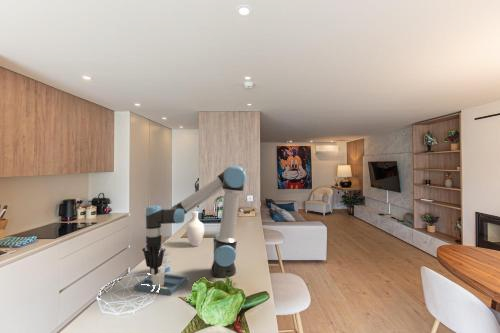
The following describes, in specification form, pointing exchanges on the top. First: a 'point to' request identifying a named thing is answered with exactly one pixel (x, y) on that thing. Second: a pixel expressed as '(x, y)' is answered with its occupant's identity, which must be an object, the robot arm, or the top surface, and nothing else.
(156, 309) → the top surface
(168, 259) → the ink box
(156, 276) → the tab
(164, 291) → the switch board
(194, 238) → the vase
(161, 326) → the top surface
